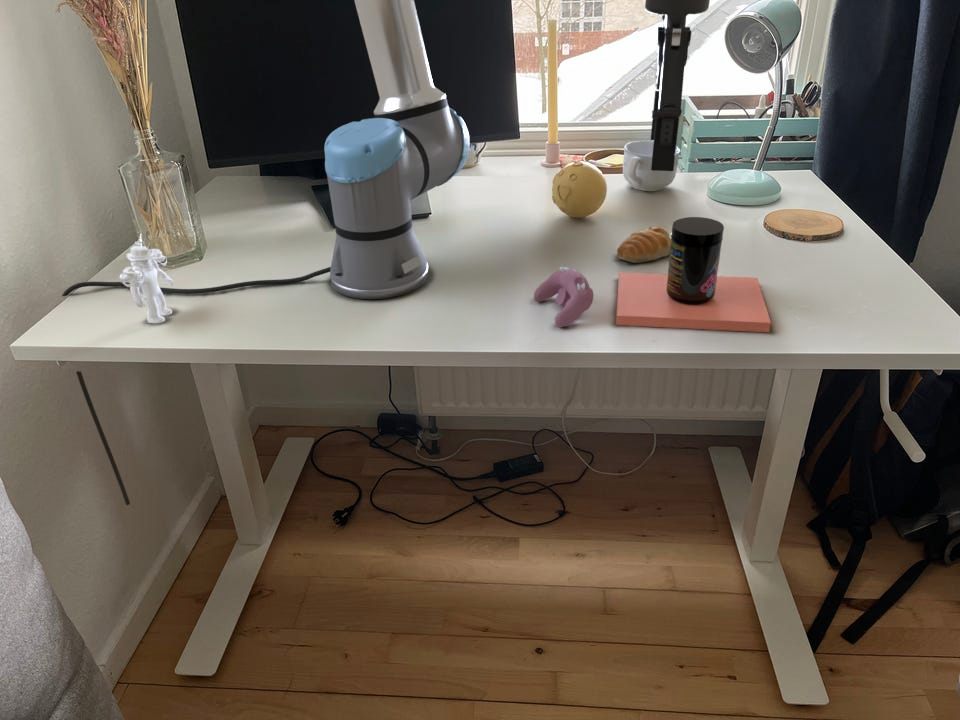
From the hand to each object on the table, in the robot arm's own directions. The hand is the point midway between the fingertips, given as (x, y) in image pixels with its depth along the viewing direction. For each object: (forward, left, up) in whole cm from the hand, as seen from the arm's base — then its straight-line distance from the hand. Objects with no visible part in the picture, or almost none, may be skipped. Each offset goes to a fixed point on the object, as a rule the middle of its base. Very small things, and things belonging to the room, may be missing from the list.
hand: (661, 154), depth 100 cm
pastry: (-1, +14, -21) cm, 25 cm away
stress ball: (-13, +31, -21) cm, 40 cm away
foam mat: (+5, -3, -21) cm, 21 cm away
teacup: (-1, +47, -21) cm, 52 cm away
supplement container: (+5, -3, -19) cm, 20 cm away
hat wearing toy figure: (-71, -15, -21) cm, 75 cm away
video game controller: (-12, -7, -21) cm, 25 cm away
